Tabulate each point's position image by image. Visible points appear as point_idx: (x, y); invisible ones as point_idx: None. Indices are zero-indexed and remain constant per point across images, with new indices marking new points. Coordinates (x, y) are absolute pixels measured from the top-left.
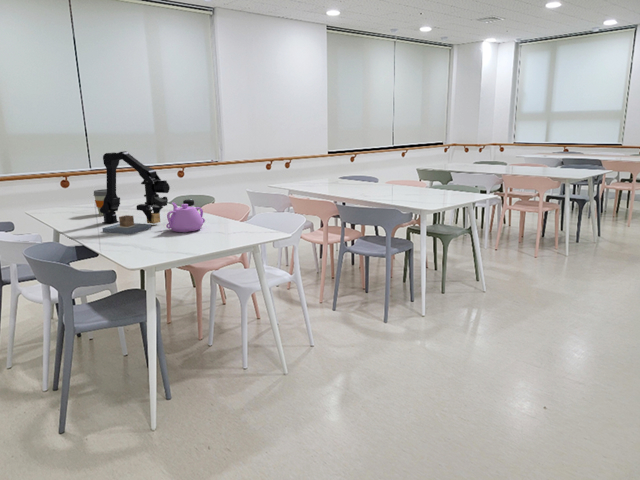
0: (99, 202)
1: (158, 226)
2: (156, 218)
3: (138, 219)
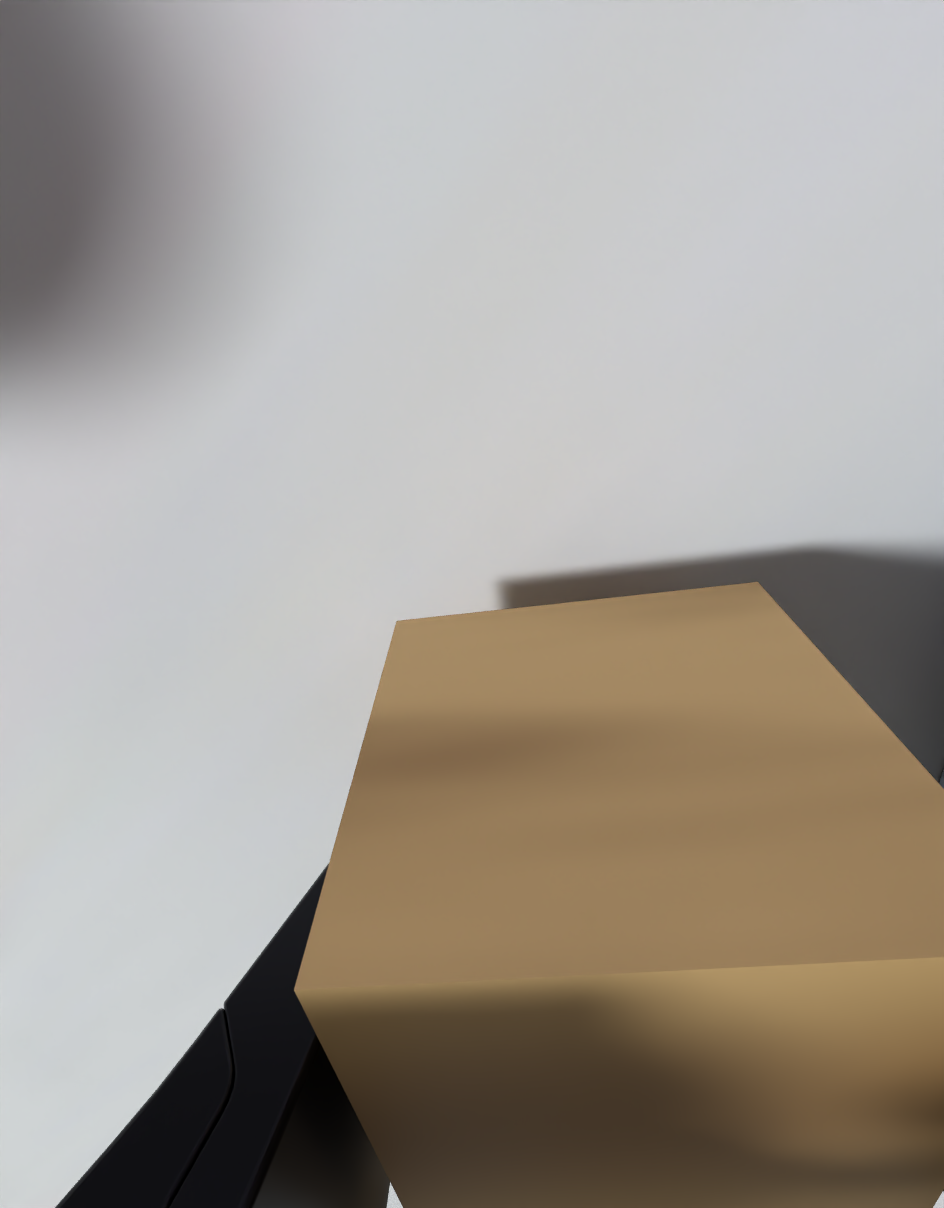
0: None
1: (726, 373)
2: (652, 712)
3: None
